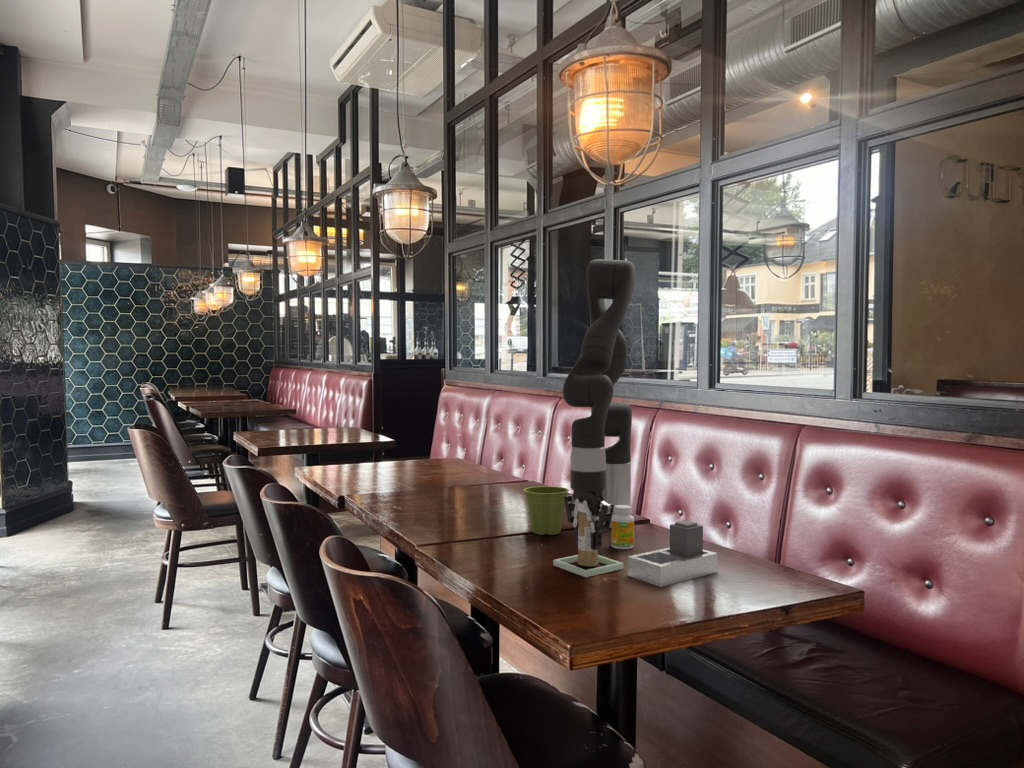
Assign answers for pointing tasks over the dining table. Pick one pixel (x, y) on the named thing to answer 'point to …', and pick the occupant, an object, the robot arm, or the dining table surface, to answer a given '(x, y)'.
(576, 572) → the tray frame
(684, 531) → the grey stepped square plug
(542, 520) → the plant pot
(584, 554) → the sprinkles bottle
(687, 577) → the divided grey caddy
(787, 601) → the dining table surface
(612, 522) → the supplement bottle
